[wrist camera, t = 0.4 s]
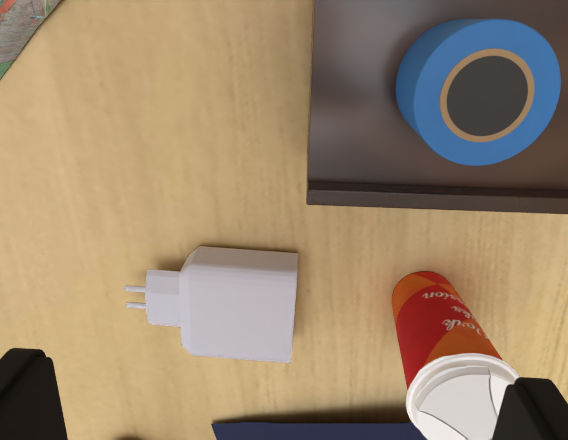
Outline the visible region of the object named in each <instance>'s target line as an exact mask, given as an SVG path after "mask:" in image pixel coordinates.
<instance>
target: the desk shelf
mask: <svg viewBox="0 0 568 440" xmlns="http://www.w3.org/2000/svg"><path fill="white" fill-rule="evenodd" d="M457 19H506V20H513V21H517V22H520V23H523V24H525V25H527V26H529V27H531V28H533V29H534V30H536V31H537V32H538V33H539V34H541V35H542V36H543V37H544V38H545V39H546V41H547V42H548V43H549V44H550V46H551V47H552V49H553V51H554V53H555V55H556V58H557V60H558V64H559V68H560V75H561V89H560V95H559V100H558V103H557V106H556V109H555V111H554V114H553V116H552V118H551V120H550V121H549V123H548V125H547V126H546V128H545V129H544V130H543V132H542V133H541V134H540V135H539V136H538V138H537V139H536V140H535V141H534V142H533V143H531V144H530V145H529V146H528V147H527V148H525V149H524V150H522V151H521V152H520V153H518V154H516V155H514V156H512V157H511V158H508V159H506V160H503V161H501V162H497V163H494V164H489V165H482V166H470V165H462V164H458V163H454V162H452V161H449V160H447V159H445V158H443V157H441V156H440V155H438V154H437V153H436V152H434V151H433V150H432V149H431V148H430V147H429V146H428V145H427V144H426V143H425V142H424V141H423V139H422V138H421V137H420V136H419V135H418V134H417V133H416V132H415V131H414V130H413V129H412V128H411V127H410V126H409V125H408V123H407V122H406V121H405V119H404V118H403V116H402V114H401V112H400V110H399V107H398V104H397V99H396V90H395V89H396V78H397V73H398V70H399V66H400V64H401V62H402V59H403V57H404V56H405V54H406V52H407V51H408V49H409V48H410V47H411V45H412V44H413V43H414V42H415V41H416V40H417V39H418V38H419V37H420V36H421V35H423V34H424V33H425V32H426V31H428V30H430V29H431V28H433V27H435V26H437V25H439V24H441V23H444V22H447V21H451V20H457ZM306 203H307V205H329V206H357V207H384V208H412V209H439V210H467V211H494V212H521V213H549V214H568V0H313V17H312V42H311V66H310V91H309V115H308V140H307V197H306Z"/></svg>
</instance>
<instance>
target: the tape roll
mask: <svg viewBox="0 0 568 440" xmlns="http://www.w3.org/2000/svg"><path fill="white" fill-rule="evenodd" d="M560 89H561V75H560V68H559V64H558V60H557V58H556V55H555V53H554V51H553V49H552V47H551V46H550V44H549V43H548V42H547V41H546V39H545V38H544V37H543V36H542V35H541V34H539V33H538V32H537V31H536V30H534V29H533V28H531V27H529V26H527V25H525V24H523V23H520V22H517V21H513V20H506V19H457V20H451V21H447V22H444V23H441V24H439V25H437V26H435V27H433V28H431V29H430V30H428V31H426V32H425V33H424V34H423V35H421V36H420V37H419V38H418V39H417V40H416V41H415V42H414V43H413V44H412V45H411V47H410V48H409V49H408V51H407V52H406V54H405V56H404V57H403V59H402V62H401V64H400V66H399V70H398V73H397V78H396V89H395V90H396V99H397V104H398V107H399V110H400V112H401V114H402V116H403V118H404V119H405V121H406V122H407V123H408V125H409V126H410V127H411V128H412V129H413V130H414V131H415V132H416V133H417V134H418V135H419V136H420V137H421V138H422V139H423V141H424V142H425V143H426V144H427V145H428V146H429V147H430V148H431V149H432V150H433V151H434V152H436V153H437V154H438V155H440V156H441V157H443V158H445V159H447V160H449V161H452V162H454V163H458V164H462V165H470V166H482V165H489V164H494V163H497V162H501V161H503V160H506V159H508V158H511V157H512V156H514V155H516V154H518V153H520V152H521V151H522V150H524V149H525V148H527V147H528V146H529V145H530V144H531V143H533V142H534V141H535V140H536V139H537V138H538V136H539V135H540V134H541V133H542V132H543V130H544V129H545V128H546V126H547V125H548V123H549V121H550V120H551V118H552V116H553V114H554V111H555V109H556V106H557V103H558V100H559V95H560Z"/></svg>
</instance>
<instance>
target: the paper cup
mask: <svg viewBox="0 0 568 440" xmlns="http://www.w3.org/2000/svg"><path fill="white" fill-rule="evenodd" d="M392 307H393V314H394V320H395V325H396V331H397V336H398V342H399V347H400V353H401V358H402V363H403V368H404V374H405V379H406V384H407V390H408V391H407V396H406V408H407V413H408V415H409V418H410V420H411V421H412V422H413V424H414V425H415V426H416V427H417V428H418V429H419V430H420V431H421V433H422V434H423V435H424V436H425V437H426V438H427V439H428V440H492V437H493V433H494V429H495V426H496V422H497V418H498V415H499V411H500V407H501V404H502V400H503V396H504V393H505V389H506V387H507V385H508V384H514V382H515V380H516V379H517V378H519V375H518V373H517V372H516V371H515V370H514V369H513V368H512V367H511V366H510V365H508V364H507V363H506V362H504V361H503V360H502V358H501V357H500V355H499V354H498V352H497V351H496V349H495V348H494V346H493V345H492V343H491V342H490V340H489V339H488V338H487V336H486V335H485V333H484V332H483V330H482V329H481V327H480V326H479V324H478V323H477V321H476V320H475V318H474V317H473V315H472V314H471V312H470V311H469V309H468V308H467V306H466V305H465V304H464V302H463V301H462V299H461V298H460V296H459V295H458V293H457V292H456V291H455V289H454V288H453V287H452V285H451V284H450V283H449V282H448V281H447V280H446V279H445V278H444V277H443V276H441V275H439V274H437V273H434V272H429V271H421V272H416V273H412V274H410V275H408V276H406V277H405V278H403V279H402V280H401V281H400V282H399V283H398V284H397V285H396V287H395V289H394V291H393V294H392Z"/></svg>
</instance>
